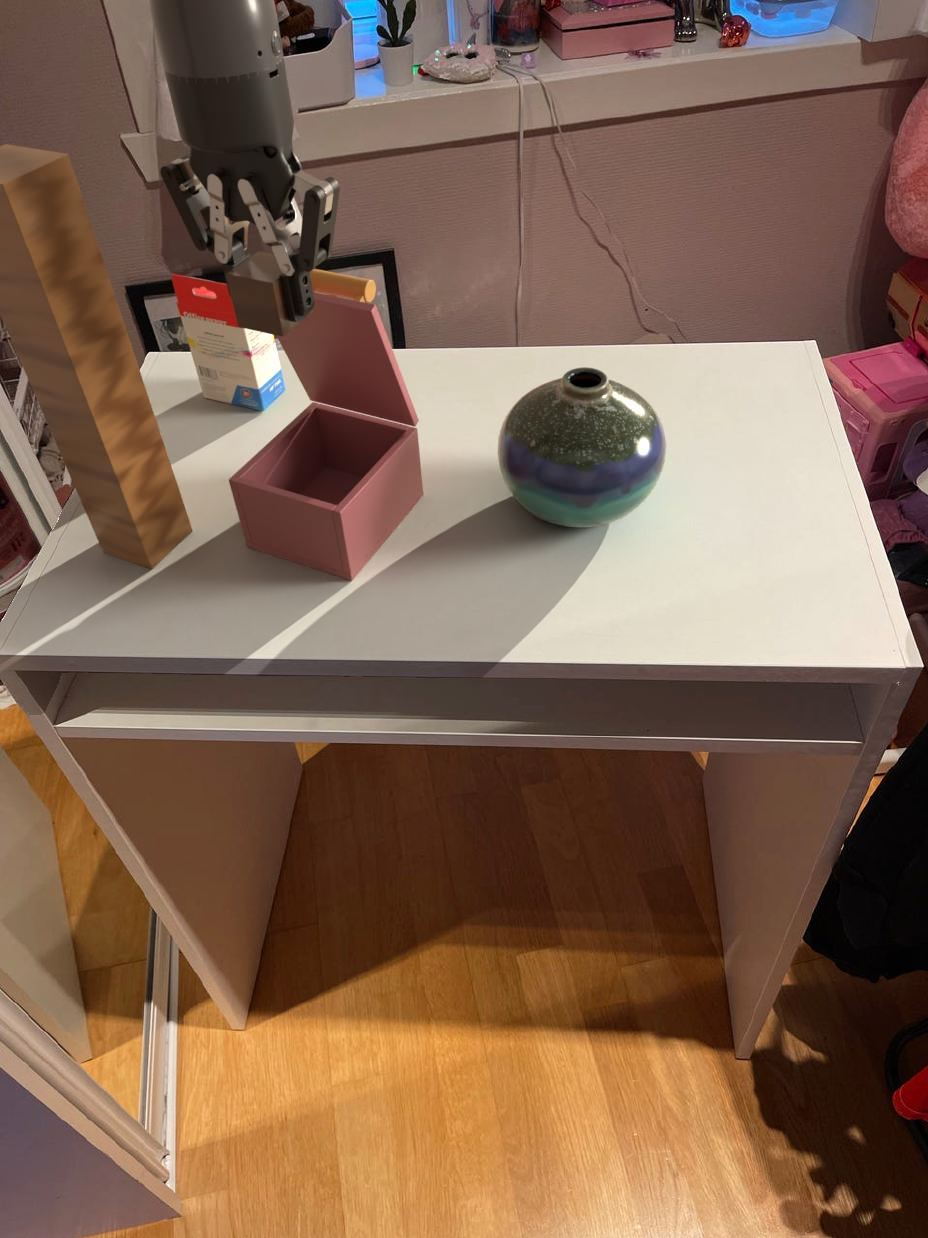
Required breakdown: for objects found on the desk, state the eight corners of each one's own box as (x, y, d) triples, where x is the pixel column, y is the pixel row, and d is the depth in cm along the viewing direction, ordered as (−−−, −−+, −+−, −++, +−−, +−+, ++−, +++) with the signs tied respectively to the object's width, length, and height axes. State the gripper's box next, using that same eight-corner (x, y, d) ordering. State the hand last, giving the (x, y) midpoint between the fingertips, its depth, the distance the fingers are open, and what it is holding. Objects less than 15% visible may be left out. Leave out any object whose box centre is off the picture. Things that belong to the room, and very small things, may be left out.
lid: (371, 311, 71) (397, 267, 72) (250, 286, 74) (277, 245, 76) (415, 427, 83) (437, 387, 85) (310, 400, 87) (332, 362, 89)
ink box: (287, 391, 104) (262, 266, 93) (263, 413, 101) (234, 287, 90) (226, 377, 107) (195, 254, 96) (201, 398, 104) (166, 274, 93)
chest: (352, 581, 81) (340, 512, 75) (246, 546, 85) (228, 479, 79) (423, 495, 89) (417, 427, 84) (324, 467, 93) (312, 401, 88)
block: (283, 337, 68) (272, 282, 65) (237, 327, 69) (225, 273, 66) (313, 312, 70) (304, 259, 67) (269, 303, 72) (258, 250, 69)
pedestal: (152, 569, 83) (2, 184, 59) (102, 552, 85) (-62, 172, 61) (193, 530, 87) (68, 153, 63) (144, 515, 89) (5, 143, 65)
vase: (467, 516, 87) (461, 394, 77) (550, 437, 95) (554, 319, 86) (609, 575, 80) (622, 449, 71) (685, 484, 89) (705, 362, 79)
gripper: (95, 61, 57) (169, 317, 69) (282, 82, 52) (326, 352, 64) (172, 31, 62) (228, 275, 74) (350, 48, 57) (379, 306, 69)
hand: (274, 310), depth 69 cm, fingers closed on block, 4 cm apart
